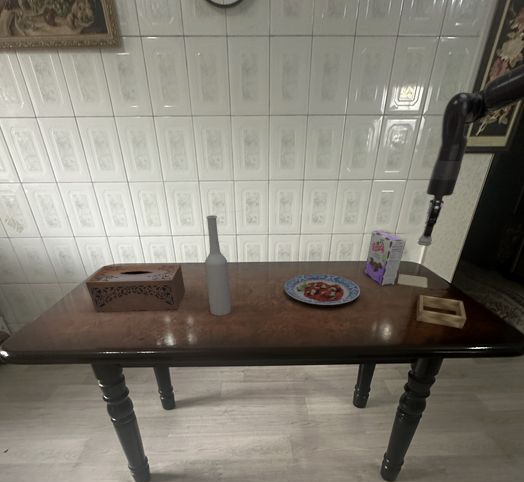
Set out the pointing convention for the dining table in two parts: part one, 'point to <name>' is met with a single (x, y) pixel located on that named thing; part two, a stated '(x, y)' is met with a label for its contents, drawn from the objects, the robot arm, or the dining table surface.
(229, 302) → the bottle
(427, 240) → the rook chess piece
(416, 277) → the felt mat
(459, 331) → the dining table surface
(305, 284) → the ceramic plate
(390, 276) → the candy box
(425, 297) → the wooden box
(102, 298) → the tissue box cover
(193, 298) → the dining table surface
